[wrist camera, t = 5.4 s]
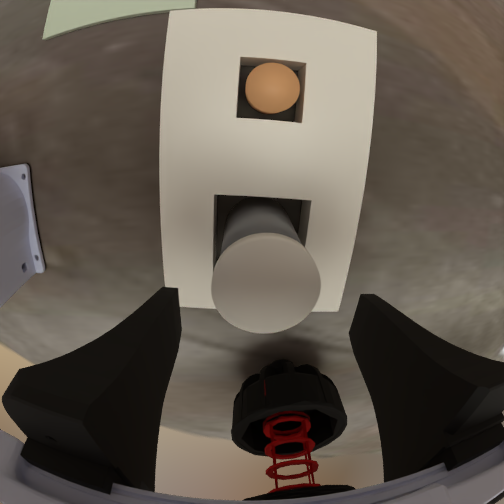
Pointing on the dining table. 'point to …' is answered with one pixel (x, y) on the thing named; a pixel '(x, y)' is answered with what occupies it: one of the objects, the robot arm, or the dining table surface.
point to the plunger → (272, 88)
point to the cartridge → (263, 270)
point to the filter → (289, 423)
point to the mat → (103, 12)
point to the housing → (263, 137)
